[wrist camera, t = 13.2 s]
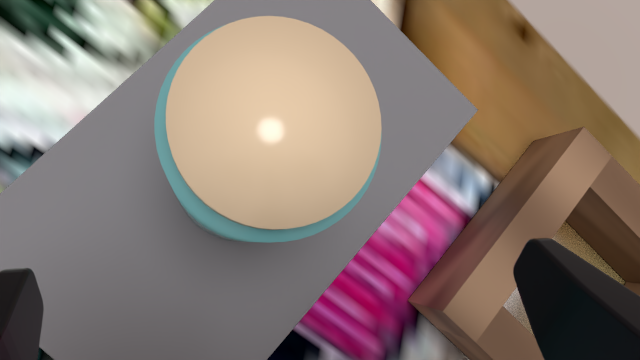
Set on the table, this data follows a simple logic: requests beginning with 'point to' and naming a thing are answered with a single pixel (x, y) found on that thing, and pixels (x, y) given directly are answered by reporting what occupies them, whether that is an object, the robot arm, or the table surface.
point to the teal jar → (267, 130)
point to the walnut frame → (519, 227)
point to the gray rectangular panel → (183, 234)
